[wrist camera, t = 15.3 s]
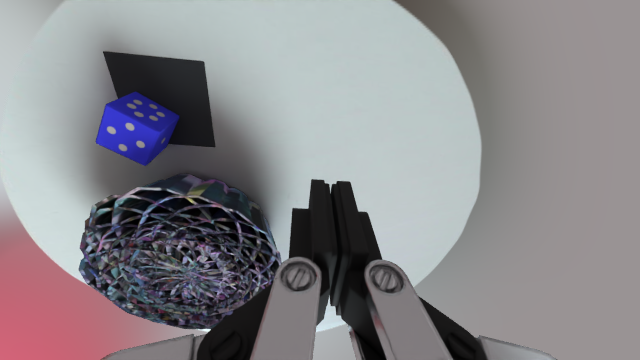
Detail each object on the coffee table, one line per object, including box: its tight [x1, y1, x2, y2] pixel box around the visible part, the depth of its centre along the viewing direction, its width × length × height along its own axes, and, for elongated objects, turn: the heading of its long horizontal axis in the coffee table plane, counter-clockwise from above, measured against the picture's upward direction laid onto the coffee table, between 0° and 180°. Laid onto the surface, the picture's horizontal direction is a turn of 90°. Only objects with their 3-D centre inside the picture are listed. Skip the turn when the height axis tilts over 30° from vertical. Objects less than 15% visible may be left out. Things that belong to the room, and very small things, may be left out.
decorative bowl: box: [79, 174, 282, 329], centre depth 36 cm, size 26×28×10 cm
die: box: [96, 92, 179, 166], centre depth 28 cm, size 5×5×5 cm
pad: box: [103, 51, 215, 147], centre depth 29 cm, size 10×10×1 cm
